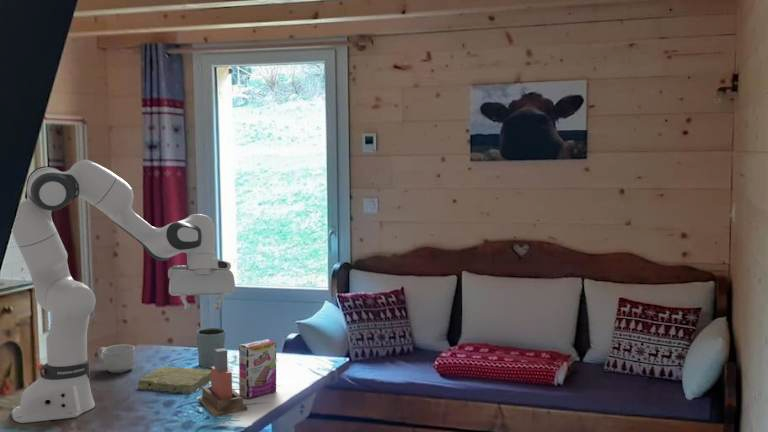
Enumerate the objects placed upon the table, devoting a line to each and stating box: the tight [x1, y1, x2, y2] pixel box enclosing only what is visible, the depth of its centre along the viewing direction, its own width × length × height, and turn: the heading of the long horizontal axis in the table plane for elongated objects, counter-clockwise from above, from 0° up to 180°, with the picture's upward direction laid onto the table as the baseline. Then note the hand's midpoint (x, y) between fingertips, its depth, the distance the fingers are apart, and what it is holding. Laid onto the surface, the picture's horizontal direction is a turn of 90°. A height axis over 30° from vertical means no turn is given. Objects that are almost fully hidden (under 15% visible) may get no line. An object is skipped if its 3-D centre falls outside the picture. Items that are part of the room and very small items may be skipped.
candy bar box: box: [238, 338, 277, 400], centre depth 239 cm, size 11×5×16 cm, turn 134°
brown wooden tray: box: [197, 385, 248, 417], centre depth 229 cm, size 10×16×4 cm, turn 30°
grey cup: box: [196, 327, 226, 368], centre depth 273 cm, size 10×10×12 cm
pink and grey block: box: [210, 347, 233, 400], centre depth 229 cm, size 4×9×16 cm, turn 30°
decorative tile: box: [137, 366, 211, 394], centre depth 252 cm, size 19×20×4 cm
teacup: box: [97, 343, 136, 374], centre depth 267 cm, size 14×11×8 cm
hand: (202, 309), depth 238 cm, fingers open, 8 cm apart
